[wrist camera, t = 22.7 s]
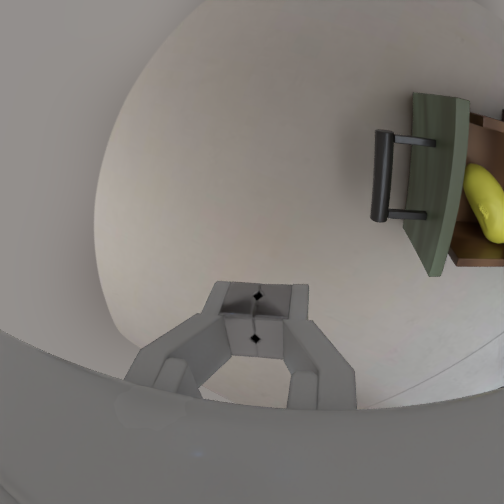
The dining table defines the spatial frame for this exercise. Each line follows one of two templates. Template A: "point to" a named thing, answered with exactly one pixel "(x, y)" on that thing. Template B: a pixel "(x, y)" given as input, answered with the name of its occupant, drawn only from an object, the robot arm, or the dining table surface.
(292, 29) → the dining table surface
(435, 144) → the drawer
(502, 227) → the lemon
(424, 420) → the robot arm
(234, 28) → the dining table surface
